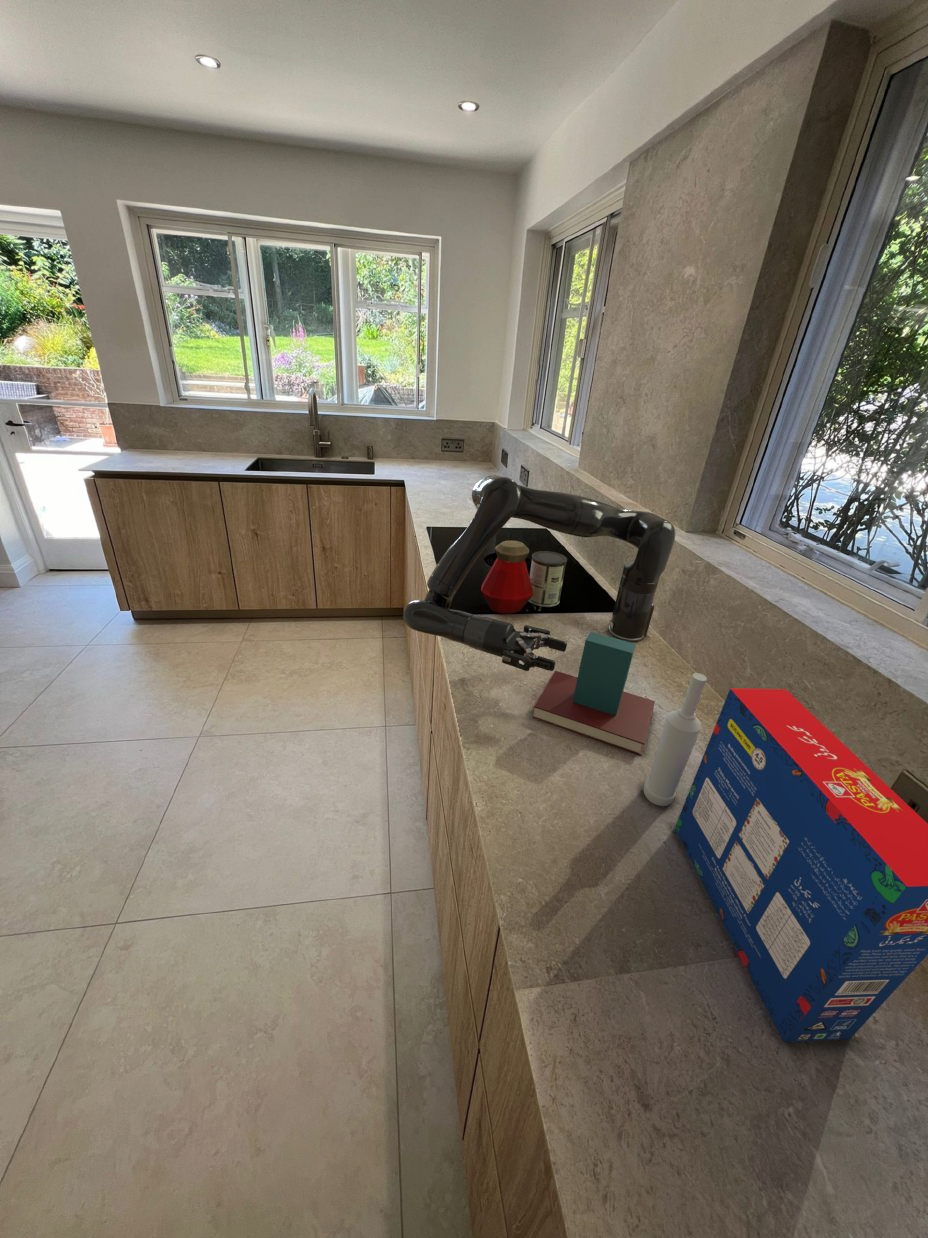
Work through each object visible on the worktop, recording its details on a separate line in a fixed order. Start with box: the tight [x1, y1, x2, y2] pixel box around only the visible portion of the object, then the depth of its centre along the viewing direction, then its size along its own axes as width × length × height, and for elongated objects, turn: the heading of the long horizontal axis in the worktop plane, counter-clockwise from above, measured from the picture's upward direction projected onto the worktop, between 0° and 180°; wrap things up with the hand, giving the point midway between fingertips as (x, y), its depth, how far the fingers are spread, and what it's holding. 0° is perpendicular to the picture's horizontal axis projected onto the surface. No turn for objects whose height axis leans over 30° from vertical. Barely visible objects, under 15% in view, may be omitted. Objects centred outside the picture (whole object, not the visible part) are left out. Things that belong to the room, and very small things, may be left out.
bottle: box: [643, 672, 708, 807], centre depth 80 cm, size 5×5×25 cm
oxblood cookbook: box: [532, 670, 656, 756], centre depth 103 cm, size 22×15×3 cm
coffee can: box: [528, 550, 568, 608], centre depth 149 cm, size 10×10×14 cm
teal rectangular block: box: [572, 631, 637, 716], centre depth 99 cm, size 9×4×15 cm, turn 64°
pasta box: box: [674, 687, 928, 1043], centre depth 61 cm, size 28×8×28 cm, turn 4°
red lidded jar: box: [480, 540, 533, 615], centre depth 141 cm, size 16×14×20 cm
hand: (560, 656), depth 102 cm, fingers open, 8 cm apart
